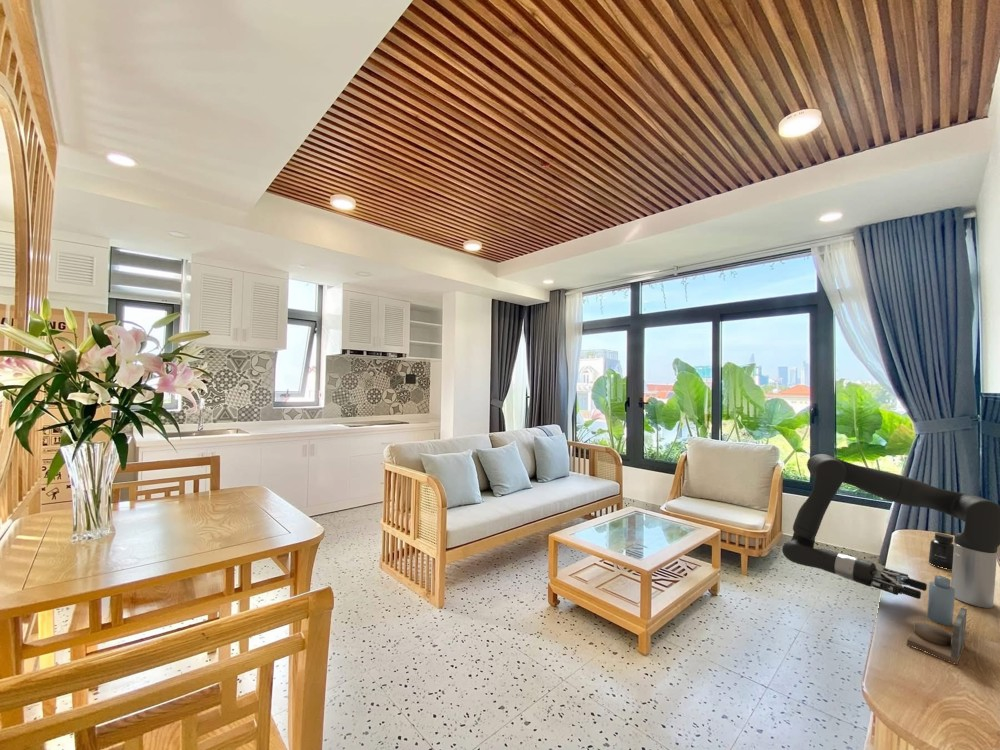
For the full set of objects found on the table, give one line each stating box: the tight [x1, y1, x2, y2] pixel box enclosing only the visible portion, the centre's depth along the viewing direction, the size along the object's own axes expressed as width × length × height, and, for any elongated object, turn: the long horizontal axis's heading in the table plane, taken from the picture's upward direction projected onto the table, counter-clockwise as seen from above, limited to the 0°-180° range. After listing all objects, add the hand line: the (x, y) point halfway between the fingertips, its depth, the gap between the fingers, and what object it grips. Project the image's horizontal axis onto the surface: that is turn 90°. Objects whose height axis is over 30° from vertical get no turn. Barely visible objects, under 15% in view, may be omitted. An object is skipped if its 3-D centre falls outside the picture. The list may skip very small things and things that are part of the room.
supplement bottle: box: [928, 532, 954, 569], centre depth 162 cm, size 7×7×12 cm
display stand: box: [906, 607, 968, 665], centre depth 112 cm, size 14×9×10 cm, turn 127°
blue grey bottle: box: [926, 575, 956, 627], centre depth 124 cm, size 5×5×12 cm
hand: (923, 591), depth 127 cm, fingers open, 8 cm apart
